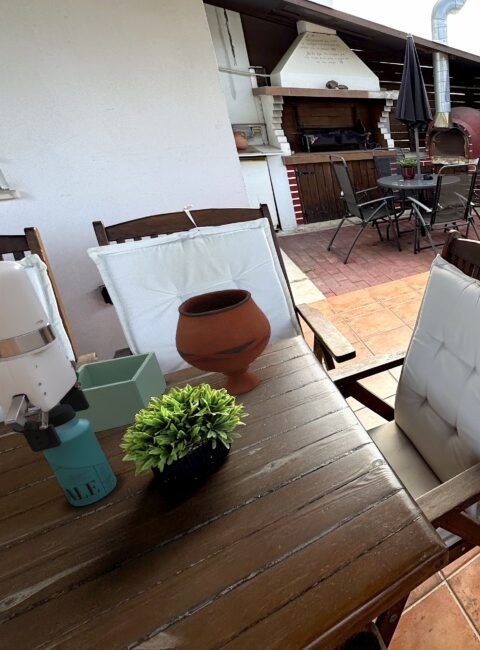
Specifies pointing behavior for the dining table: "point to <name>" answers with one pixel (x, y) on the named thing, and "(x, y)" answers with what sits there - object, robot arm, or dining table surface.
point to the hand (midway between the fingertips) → (64, 428)
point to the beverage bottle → (78, 458)
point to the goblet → (223, 336)
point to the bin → (119, 389)
